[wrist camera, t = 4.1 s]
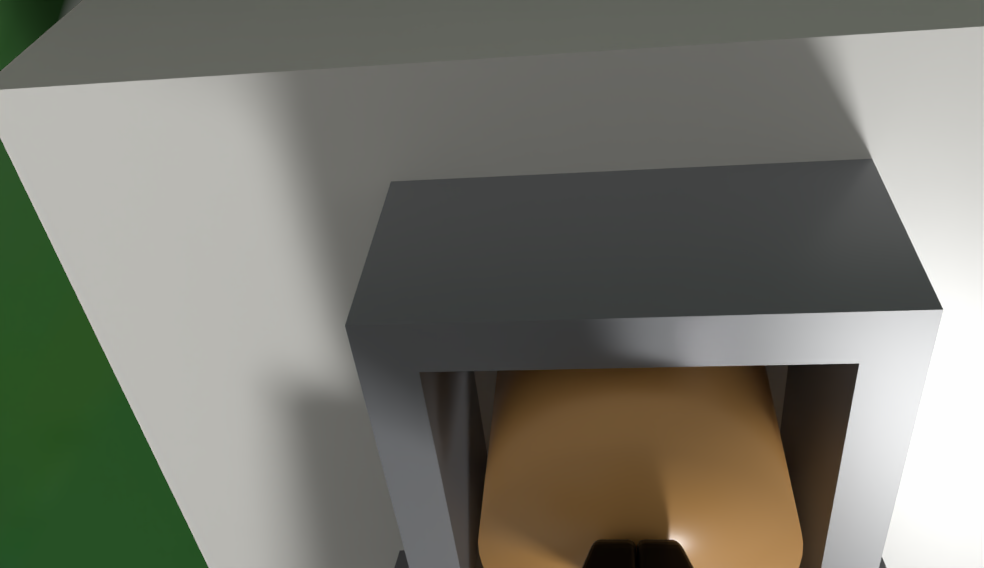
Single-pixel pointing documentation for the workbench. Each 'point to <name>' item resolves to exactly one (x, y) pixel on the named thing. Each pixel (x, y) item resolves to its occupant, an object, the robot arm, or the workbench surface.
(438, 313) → the breaker box
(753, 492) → the button
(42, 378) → the workbench surface
